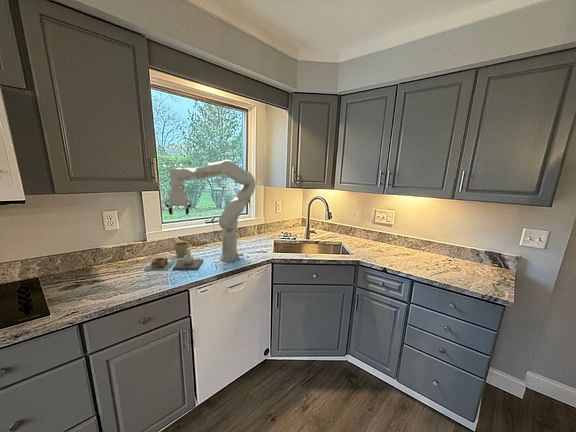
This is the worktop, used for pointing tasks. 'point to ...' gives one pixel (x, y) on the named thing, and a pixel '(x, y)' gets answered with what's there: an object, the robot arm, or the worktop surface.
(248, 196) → the robot arm
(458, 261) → the worktop surface
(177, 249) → the flower pot
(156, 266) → the walnut link
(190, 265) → the stand
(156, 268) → the mat
